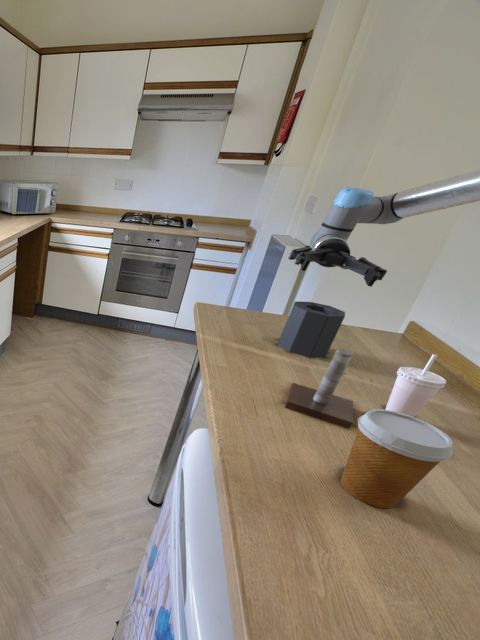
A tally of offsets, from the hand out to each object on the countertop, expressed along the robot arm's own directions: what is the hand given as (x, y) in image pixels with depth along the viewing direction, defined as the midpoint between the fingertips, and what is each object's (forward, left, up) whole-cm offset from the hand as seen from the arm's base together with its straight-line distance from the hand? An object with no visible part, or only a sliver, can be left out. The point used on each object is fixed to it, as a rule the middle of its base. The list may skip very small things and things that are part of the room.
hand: (338, 273), depth 101 cm
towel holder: (-4, +37, -20) cm, 42 cm away
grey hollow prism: (+1, +7, -20) cm, 21 cm away
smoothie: (-16, +30, -20) cm, 39 cm away
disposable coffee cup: (-11, +61, -20) cm, 65 cm away
